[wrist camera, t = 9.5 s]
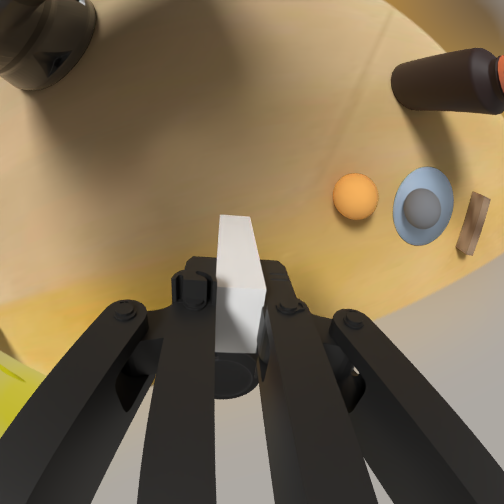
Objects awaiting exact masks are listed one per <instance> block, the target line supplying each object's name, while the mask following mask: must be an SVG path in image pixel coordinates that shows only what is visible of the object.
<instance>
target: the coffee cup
mask: <svg viewBox="0 0 504 504" xmlns="http://www.w3.org/2000/svg"><path fill="white" fill-rule="evenodd" d="M257 359H258V346H257V348H256V353H226V352H215V388H214V399H232V398H237V397H240V396H243V395H245V394H247V393H249V392H250V391H252V390H253V389H254V388H255V387H256V386H257V385H258V383H259V380H258V376H257V378H254V375H255V369H256V364H257Z"/></svg>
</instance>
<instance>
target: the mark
mask: <svg viewBox="0 0 504 504" xmlns="http://www.w3.org/2000/svg"><path fill="white" fill-rule="evenodd" d="M418 188H425V189H428V190H430V191H432V192H433V193H434V194H435V195H436V196H437V197H438V199H439V201H440V204H441V215H440V218H439V220H438V222H437V223H436V224H435V225H434V226H433V227H431V228H428V229H418V228H416V227H414V226H412V225H411V224H410V223H409V222H408V220H407V219H406V217H405V214H404V201H405V199H406V197H407V195H408V194H409V193H410V192H411V191H413V190H415V189H418ZM453 201H454V200H453V191H452V187H451V184H450V182H449V180H448V179H447V177H446V176H445V175H444V174H443V173H442V172H441V171H440V170H438V169H436V168H432V167H422V168H418V169H416V170H414V171H413V172H411V173H410V174H409V175H408V176H407V177H406V178H405V179H404V180H403V182H402V183H401V185H400V187H399V188H398V191H397V193H396V196H395V200H394V205H393V220H394V224H395V227H396V230H397V232H398V234H399V235H400V236H401V238H402V239H403V240H405V241H406V242H407V243H410V244H412V245H425V244H428V243H430V242H432V241H434V240H435V239H436V238H437V237H439V236H440V235H441V233H442V232H443V231H444V230H445V228H446V226H447V225H448V223H449V220H450V218H451V215H452V211H453Z"/></svg>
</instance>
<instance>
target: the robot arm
mask: <svg viewBox="0 0 504 504" xmlns="http://www.w3.org/2000/svg"><path fill="white" fill-rule="evenodd" d="M95 20H96V15H95V9H94V6H93V4H92V3H91V2H90V0H0V76H1V77H2V78H3V79H5V80H6V81H8V82H9V83H10V84H12V85H13V86H15V87H17V88H19V89H24V90H40V89H44V88H46V87H49V86H51V85H53V84H54V83H56V82H57V81H59V80H60V79H61V78H63V77H64V76H65V75H66V74H67V73H68V72H69V71H70V70H71V69H72V68H73V67H74V66H75V64H76V63H77V62H78V61H79V59H80V58H81V56H82V55H83V53H84V52H85V50H86V48H87V46H88V44H89V42H90V40H91V37H92V35H93V31H94V27H95ZM171 281H172V305H170V306H169V307H166V308H164V309H160V310H154V311H147V310H146V307H145V306H144V305H143V304H142V303H140V302H138V301H135V300H120V301H117V302H114V303H112V304H111V305H109V306H108V307H107V308H106V309H105V310H104V311H103V312H102V313H101V314H100V315H99V316H98V318H97V319H96V320H95V321H94V322H93V323H92V324H91V325H90V326H89V327H88V329H87V330H86V331H85V332H84V333H83V334H82V335H81V337H80V338H79V339H78V340H77V341H76V342H75V343H74V345H73V346H72V347H71V348H70V349H69V350H68V352H67V353H66V354H65V355H64V356H63V357H62V359H61V360H60V361H59V362H58V363H57V365H56V366H55V367H54V368H53V369H52V371H51V372H50V373H49V374H48V376H47V377H46V378H45V379H44V381H43V382H42V383H41V384H40V386H39V387H38V388H37V389H36V391H35V392H34V393H33V395H32V396H31V397H30V398H29V400H28V401H27V403H26V404H25V405H24V406H23V408H22V409H21V410H20V412H19V413H18V415H17V416H16V417H15V419H14V420H13V422H12V423H11V424H10V426H9V427H8V428H7V430H6V431H5V433H4V434H3V436H2V437H1V439H0V504H91V502H92V500H93V498H94V495H95V493H96V491H97V489H98V487H99V485H100V483H101V481H102V479H103V477H104V475H105V473H106V471H107V469H108V467H109V465H110V463H111V461H112V459H113V457H114V455H115V453H116V451H117V449H118V447H119V445H120V443H121V441H122V439H123V437H124V435H125V433H126V431H127V429H128V427H129V426H130V423H131V422H132V420H133V418H134V416H135V414H136V412H137V410H138V408H139V406H140V404H141V402H142V401H143V399H144V397H145V395H146V393H147V391H148V389H149V388H150V386H151V384H152V382H153V380H154V378H155V375H156V378H155V383H154V388H153V393H152V399H151V405H150V411H149V417H148V422H147V429H146V435H145V441H144V448H143V455H142V463H141V471H140V479H139V489H138V498H137V504H216V478H215V432H214V431H215V428H214V427H215V426H214V425H215V423H214V388H215V352H226V353H256V348H257V346H258V359H257V364H256V369H255V375H254V378H257V376H258V380H259V387H260V395H261V403H262V411H263V419H264V426H265V434H266V441H267V449H268V456H269V463H270V471H271V479H272V486H273V493H274V500H275V504H378V502H377V498H376V495H375V492H374V489H373V485H372V482H371V479H370V476H369V473H368V470H367V467H366V464H365V461H364V459H365V460H366V462H367V463H368V465H369V467H370V468H371V470H372V471H373V473H374V474H375V476H376V477H377V479H378V480H379V482H380V483H381V485H382V486H383V488H384V489H385V491H386V492H387V494H388V495H389V497H390V498H391V500H392V501H393V503H394V504H504V471H503V470H502V468H501V467H500V466H499V465H498V463H497V462H496V461H495V459H494V458H493V457H492V456H491V454H490V453H489V452H488V451H487V449H486V448H485V447H484V446H483V445H482V443H481V442H480V441H479V440H478V439H477V437H476V436H475V435H474V434H473V432H472V431H471V430H470V429H469V428H468V426H467V425H466V424H465V423H464V422H463V421H462V419H461V418H460V417H459V416H458V415H457V414H456V412H455V411H454V410H453V409H452V408H451V407H450V405H449V404H448V403H447V402H446V401H445V400H444V399H443V397H441V395H440V394H439V393H438V392H437V391H436V390H435V388H434V387H433V386H432V385H431V384H430V383H429V382H428V381H427V379H426V378H425V377H424V376H423V375H422V374H421V373H420V372H419V371H418V370H417V368H416V367H415V366H414V365H413V364H412V363H411V362H410V361H409V360H408V359H407V358H406V357H405V356H404V354H403V353H402V352H401V351H400V350H399V349H398V348H397V347H396V346H395V345H394V344H393V343H392V341H391V340H390V339H389V338H388V337H387V336H386V335H385V334H384V333H383V332H382V331H381V330H380V329H379V328H378V327H377V326H376V325H375V324H374V323H373V322H372V321H371V319H370V318H369V317H367V316H366V315H365V314H363V313H361V312H359V311H357V310H353V309H341V310H339V311H337V312H336V313H335V314H334V316H333V319H330V318H325V317H320V316H317V315H313V314H311V313H310V311H309V308H308V307H307V305H306V304H305V303H304V302H303V301H301V300H300V299H297V298H296V295H295V292H294V290H293V287H292V284H291V282H290V279H289V276H288V274H287V271H286V268H285V267H284V266H283V265H282V264H281V263H280V262H279V261H274V260H260V259H259V254H258V250H257V246H256V241H255V237H254V233H253V228H252V224H251V219H250V217H247V216H233V215H220V222H219V236H218V250H217V258H211V257H196V256H193V257H192V258H190V259H189V260H188V261H187V262H186V266H185V270H181V271H179V272H177V273H176V274H174V275H173V277H172V278H171ZM354 367H355V368H356V369H357V370H358V371H359V374H357V373H356V372H355V371H354ZM363 457H364V458H363Z"/></svg>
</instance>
